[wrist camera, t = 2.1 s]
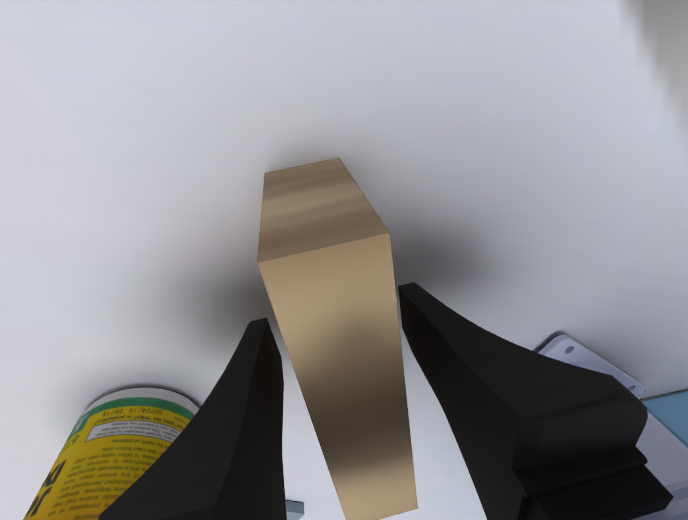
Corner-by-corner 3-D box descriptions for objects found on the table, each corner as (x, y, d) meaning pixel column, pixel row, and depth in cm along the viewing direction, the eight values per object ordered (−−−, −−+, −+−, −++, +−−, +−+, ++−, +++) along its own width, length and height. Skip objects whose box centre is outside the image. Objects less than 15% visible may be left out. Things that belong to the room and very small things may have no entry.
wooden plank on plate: (375, 375, 17) (417, 508, 12) (326, 388, 17) (348, 528, 12) (338, 156, 12) (389, 232, 6) (264, 172, 11) (257, 263, 6)
